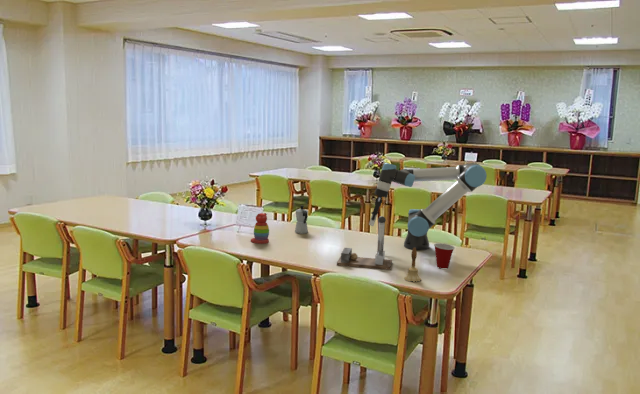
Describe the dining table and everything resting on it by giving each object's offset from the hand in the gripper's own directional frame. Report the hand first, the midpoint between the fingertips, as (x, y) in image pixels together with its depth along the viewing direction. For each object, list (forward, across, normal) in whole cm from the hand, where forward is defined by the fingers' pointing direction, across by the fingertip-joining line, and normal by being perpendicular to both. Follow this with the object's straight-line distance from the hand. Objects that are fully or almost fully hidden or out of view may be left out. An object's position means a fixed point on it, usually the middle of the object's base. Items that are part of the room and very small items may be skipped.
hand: (371, 224), depth 315 cm
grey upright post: (+15, +26, +10) cm, 32 cm away
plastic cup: (+8, +22, +43) cm, 49 cm away
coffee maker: (+23, -38, -42) cm, 61 cm away
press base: (+19, +26, +3) cm, 32 cm away
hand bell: (+16, +47, +28) cm, 57 cm away
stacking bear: (+31, -7, -61) cm, 69 cm away
